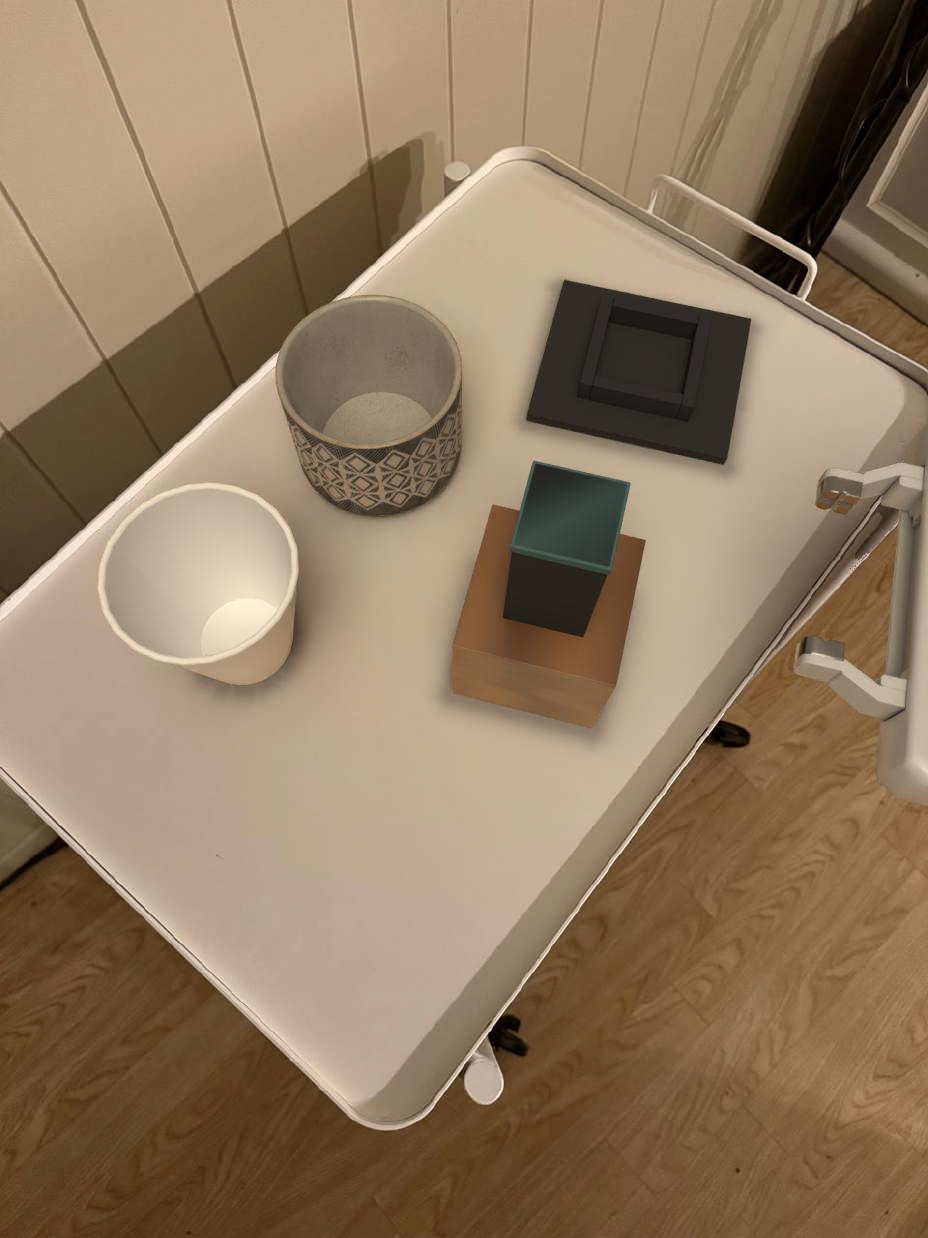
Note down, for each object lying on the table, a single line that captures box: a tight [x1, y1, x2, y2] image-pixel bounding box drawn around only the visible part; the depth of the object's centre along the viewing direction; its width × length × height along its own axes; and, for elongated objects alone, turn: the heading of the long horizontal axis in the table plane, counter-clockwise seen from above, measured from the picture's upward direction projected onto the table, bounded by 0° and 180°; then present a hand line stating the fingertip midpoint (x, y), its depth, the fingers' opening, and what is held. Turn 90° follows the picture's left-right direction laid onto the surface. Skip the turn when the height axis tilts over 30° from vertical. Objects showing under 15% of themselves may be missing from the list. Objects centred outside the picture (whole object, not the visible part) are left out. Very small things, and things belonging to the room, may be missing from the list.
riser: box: [452, 503, 647, 729], centre depth 58 cm, size 10×10×10 cm
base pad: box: [525, 279, 752, 465], centre depth 70 cm, size 16×14×3 cm
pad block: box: [503, 460, 632, 637], centre depth 49 cm, size 5×5×10 cm
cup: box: [97, 481, 300, 686], centre depth 57 cm, size 12×12×12 cm
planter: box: [274, 294, 463, 516], centre depth 64 cm, size 13×13×10 cm
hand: (809, 566), depth 43 cm, fingers open, 8 cm apart
